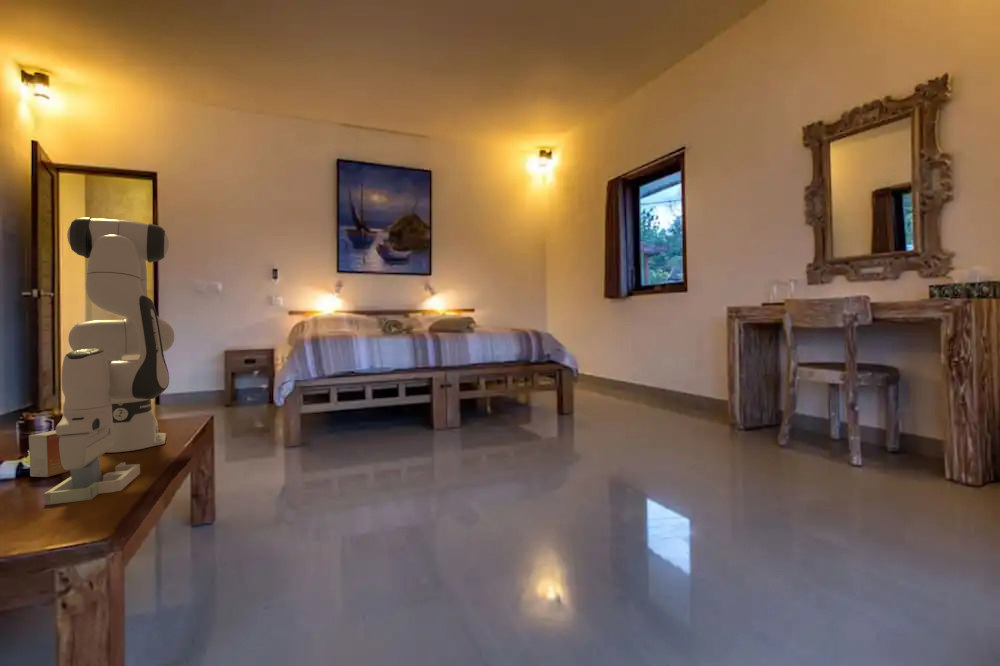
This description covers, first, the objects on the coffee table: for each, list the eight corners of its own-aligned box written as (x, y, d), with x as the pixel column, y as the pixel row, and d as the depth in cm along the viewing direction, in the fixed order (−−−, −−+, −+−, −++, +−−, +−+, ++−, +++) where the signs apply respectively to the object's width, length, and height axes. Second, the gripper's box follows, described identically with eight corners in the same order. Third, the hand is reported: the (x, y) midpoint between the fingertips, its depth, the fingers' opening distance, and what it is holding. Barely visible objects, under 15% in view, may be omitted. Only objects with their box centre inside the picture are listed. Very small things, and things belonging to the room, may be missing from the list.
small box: (47, 478, 126) (45, 435, 126) (29, 477, 127) (27, 435, 127) (80, 468, 134) (78, 428, 134) (62, 467, 135) (61, 428, 135)
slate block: (81, 481, 119) (76, 459, 117) (102, 479, 120) (98, 457, 118) (74, 491, 115) (69, 468, 113) (95, 489, 116) (91, 466, 114)
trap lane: (87, 475, 127) (86, 466, 127) (144, 469, 131) (143, 460, 131) (44, 505, 107) (43, 493, 106) (113, 497, 111) (113, 486, 111)
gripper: (90, 412, 128) (93, 466, 128) (51, 429, 109) (55, 493, 109) (120, 410, 130) (123, 463, 131) (87, 426, 111) (91, 489, 111)
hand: (92, 477), depth 120 cm, fingers closed, pressing on slate block
